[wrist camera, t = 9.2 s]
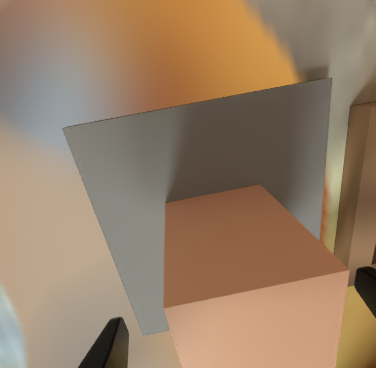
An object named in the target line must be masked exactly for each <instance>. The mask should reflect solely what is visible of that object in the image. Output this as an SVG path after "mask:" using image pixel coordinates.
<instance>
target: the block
mask: <svg viewBox="0 0 376 368" xmlns="http://www.w3.org/2000/svg"><path fill="white" fill-rule="evenodd" d="M349 273H350V270H349V269H348V268H347V267H346V266H345V265H344V264H343V263H342V262H341V261H340V260H339V259H338V258H337V257H336V256H335V255H334V254H333V253H331V252H330V251H329V250H328V249H327V248H326V247H325V246H324V245H323V244H322V243H321V242H320V241H319V240H318V239H317V238H316V237H315V236H314V235H313V234H312V233H311V232H309V231H308V230H307V229H306V228H305V227H304V226H303V225H302V224H301V223H300V222H299V221H298V220H297V219H296V218H295V217H294V216H293V215H292V214H291V213H290V212H289V211H287V210H286V209H285V208H284V207H283V206H282V205H281V204H280V203H279V202H278V201H277V200H276V199H275V198H274V197H273V196H272V195H271V194H270V193H269V192H268V191H267V190H265V189H264V188H263V187H262V186H261V185H260V184H259V185H254V186H249V187H244V188H239V189H234V190H229V191H224V192H219V193H214V194H209V195H204V196H199V197H194V198H188V199H183V200H178V201H173V202H168V203H165V235H164V300H163V309H164V312H165V315H166V319H167V322H168V325H169V328H170V331H171V334H172V338H173V341H174V344H175V347H176V351H177V354H178V357H179V360H180V363H181V367H182V368H335V365H336V359H337V352H338V345H339V339H340V332H341V326H342V319H343V312H344V306H345V299H346V293H347V286H348V279H349Z"/></svg>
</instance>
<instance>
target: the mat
mask: <svg viewBox="0 0 376 368" xmlns="http://www.w3.org/2000/svg"><path fill="white" fill-rule="evenodd" d="M331 86H332V78H324V79H318V80H313V81H307V82H302V83H297V84H292V85H286V86H281V87H276V88H270V89H265V90H260V91H254V92H249V93H244V94H238V95H233V96H228V97H223V98H217V99H212V100H207V101H202V102H196V103H191V104H186V105H180V106H175V107H170V108H164V109H159V110H154V111H148V112H143V113H138V114H132V115H127V116H122V117H117V118H111V119H106V120H101V121H95V122H90V123H85V124H79V125H74V126H69V127H65V128H63V132H64V134H65V137H66V139H67V142H68V145H69V147H70V150H71V152H72V154H73V157H74V160H75V163H76V165H77V168H78V170H79V173H80V175H81V178H82V181H83V183H84V186H85V188H86V191H87V193H88V196H89V198H90V201H91V204H92V206H93V209H94V211H95V213H96V216H97V219H98V222H99V224H100V226H101V229H102V232H103V234H104V237H105V239H106V242H107V245H108V247H109V250H110V252H111V255H112V257H113V260H114V263H115V265H116V268H117V270H118V273H119V275H120V278H121V280H122V283H123V286H124V288H125V291H126V293H127V296H128V299H129V301H130V304H131V306H132V309H133V311H134V314H135V316H136V319H137V322H138V324H139V327H140V329H141V332H142V334H143V336H145V335H150V334H155V333H160V332H165V331H170V328H169V325H168V322H167V319H166V315H165V312H164V309H163V300H164V235H165V203H168V202H173V201H178V200H183V199H188V198H194V197H199V196H204V195H209V194H214V193H219V192H224V191H229V190H234V189H239V188H244V187H249V186H254V185H259V184H260V185H261V186H262V187H263V188H264V189H265V190H267V191H268V192H269V193H270V194H271V195H272V196H273V197H274V198H275V199H276V200H277V201H278V202H279V203H280V204H281V205H282V206H283V207H284V208H285V209H286V210H287V211H289V212H290V213H291V214H292V215H293V216H294V217H295V218H296V219H297V220H298V221H299V222H300V223H301V224H302V225H303V226H304V227H305V228H306V229H307V230H308V231H309V232H311V233H312V234H313V235H314V236H315V237H316V238H317V239H318V240H319V241H320V228H321V216H322V203H323V189H324V177H325V164H326V151H327V138H328V125H329V112H330V99H331Z"/></svg>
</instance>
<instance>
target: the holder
mask: <svg viewBox="0 0 376 368" xmlns="http://www.w3.org/2000/svg"><path fill="white" fill-rule="evenodd" d="M375 244H376V101H375V102H370V103H365V104H359V105H354V106H350V115H349V124H348V133H347V142H346V151H345V160H344V169H343V178H342V187H341V196H340V205H339V214H338V223H337V232H336V241H335V250H334V255H335V256H336V257H337V258H338V259H339V260H340V261H341V262H342V263H343V264H344V265H345V266H346V267H347V268H348V269H349V270H350V273H349V279H348V286H347V287H349V286H354V280H355V274H356V270H357V268H359V267H364V266H370V267H373V268H375V269H376V248H375Z"/></svg>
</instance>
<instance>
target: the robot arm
mask: <svg viewBox="0 0 376 368" xmlns="http://www.w3.org/2000/svg"><path fill="white" fill-rule="evenodd" d="M354 286H355V289H356V290H357V292H358V293H359V295H360V296H361V298H362V299H363V301H364V302H365V303H366V305H367V306H368V308H369V309H370V311H371V312H372V313H373V315H374V316H375V318H376V269H375V268H373V267H370V266H364V267H359V268H357V270H356V274H355V280H354ZM128 344H129V333H128V329H127V327H126V324H125V322H124V320H123V318H122V317H116V318H112V319H110V320H109V322H108V323H107V325H106V326H105V328H104V329H103V331H102V332H101V334H100V335H99V337H98V338H97V340H96V341H95V343H94V344H93V346H92V347H91V349H90V350H89V352H88V353H87V355H86V356H85V358H84V359H83V361H82V362H81V364H80V365H79V367H78V368H127V365H128Z"/></svg>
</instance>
